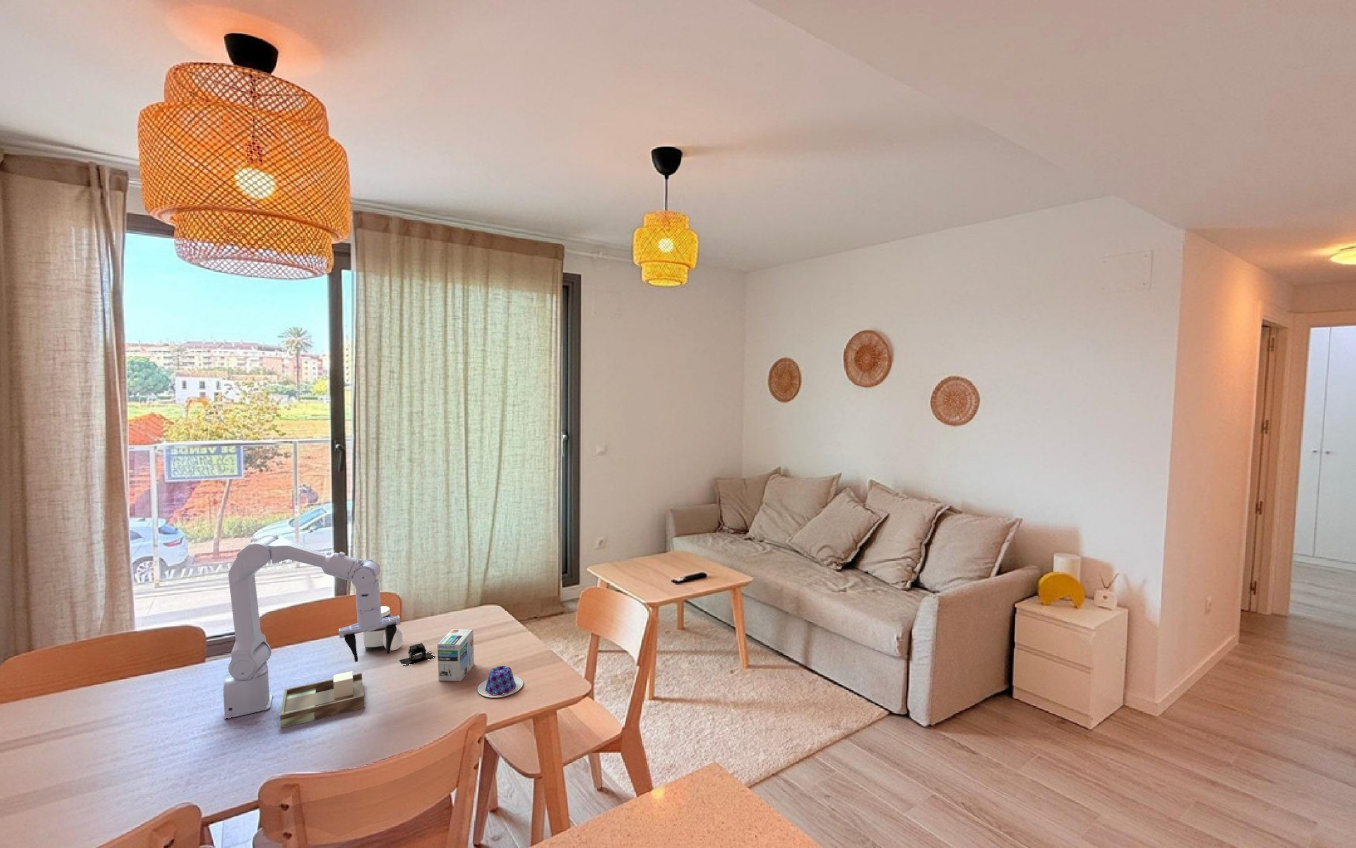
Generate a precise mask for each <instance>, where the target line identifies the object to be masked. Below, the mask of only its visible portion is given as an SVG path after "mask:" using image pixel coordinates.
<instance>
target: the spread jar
mask: <svg viewBox="0 0 1356 848" xmlns="http://www.w3.org/2000/svg"><path fill="white" fill-rule="evenodd" d="M390 610H391V608H390V606H386V605H384V606H383V605H382V606H381V616H382V618H386V617H393V615H392V614H391V613H390V612H391V611H390ZM362 633H363V638H362V639H363V647H364V649H366V650H369V651H381V650H384V649H385V650H386V634H385V627H384V628H379V629H376V630H372V631H366V632H362ZM403 640H404V639H403V633H402V631H401V630H400V628H398V627H397V630H396V633H395V635H394V637H393V640H392V643H391V648H390V652H392V651H395V650H396V651H397V650H398V649H399V648H400V647H401V646H402V644H403Z"/></svg>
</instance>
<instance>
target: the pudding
mask: <svg viewBox="0 0 1356 848" xmlns="http://www.w3.org/2000/svg"><path fill="white" fill-rule="evenodd" d="M512 670H513V669H512V668H511V667H510V666H506V665H499V666H496V667H493V668H491V669H490V671H489V672H488V677H487V679H485V680H484V681H482V682H481V683H480V684H479V685H478V686H477V691H478V693H479V695H482V697H483V696H484V697H487V698H503V697H506V696H509V695H513V694H514V693H517V692H518V691H519V690H520V689H521V688H522V687H523V686H524V681H523V680H522V678H520V677H519V676H516V675H513V671H512ZM485 686H486V688H485ZM484 688H485V690H484ZM484 691H485V692H484ZM486 691H487V692H486ZM485 693H487V694H485ZM488 693H489V694H488ZM503 693H504V694H505V695H504V694H503ZM507 693H508V694H507ZM493 694H494V695H495V694H496V695H502V694H503V695H504V696H489V695H493Z"/></svg>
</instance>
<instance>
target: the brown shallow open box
mask: <svg viewBox="0 0 1356 848" xmlns="http://www.w3.org/2000/svg"><path fill="white" fill-rule="evenodd" d="M361 709H365V694H364V685H363V673H362V672H360V673H354V674H353V695H348V696H344V697H339V698H335V699H334V683H333V678H332V679H327V680H323V681H322V680H321V681H318V682H313V683H310V684H309V683H307V684H303V685H300V686H293V687H290V688H285V689H284V690H283V697H282V702H281V709H280V715H279V718H280V719H279V720H280V729H284V728H288V727H292V726H295V725H299V724H304V723H308V722H312V721H315V720H321V719H323V718H328V717H332V716H337V715H341V714H345V713H349V712H353V711H357V710H361Z"/></svg>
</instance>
